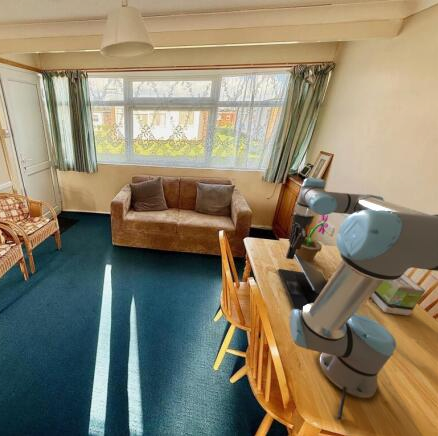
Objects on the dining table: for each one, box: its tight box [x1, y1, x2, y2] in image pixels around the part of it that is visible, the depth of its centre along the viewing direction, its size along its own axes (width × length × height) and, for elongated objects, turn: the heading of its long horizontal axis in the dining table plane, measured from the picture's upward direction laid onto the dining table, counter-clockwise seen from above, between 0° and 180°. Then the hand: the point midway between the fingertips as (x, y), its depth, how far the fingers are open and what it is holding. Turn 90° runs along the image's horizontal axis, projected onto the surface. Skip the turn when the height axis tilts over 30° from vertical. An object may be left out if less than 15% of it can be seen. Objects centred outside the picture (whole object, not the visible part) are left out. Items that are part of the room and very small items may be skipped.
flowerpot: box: [294, 214, 329, 263], centre depth 135 cm, size 14×14×30 cm
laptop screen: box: [294, 253, 328, 295], centre depth 110 cm, size 21×30×1 cm
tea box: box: [369, 273, 426, 316], centre depth 106 cm, size 15×10×15 cm
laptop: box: [277, 268, 319, 311], centre depth 114 cm, size 21×30×2 cm
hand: (289, 258), depth 109 cm, fingers closed
